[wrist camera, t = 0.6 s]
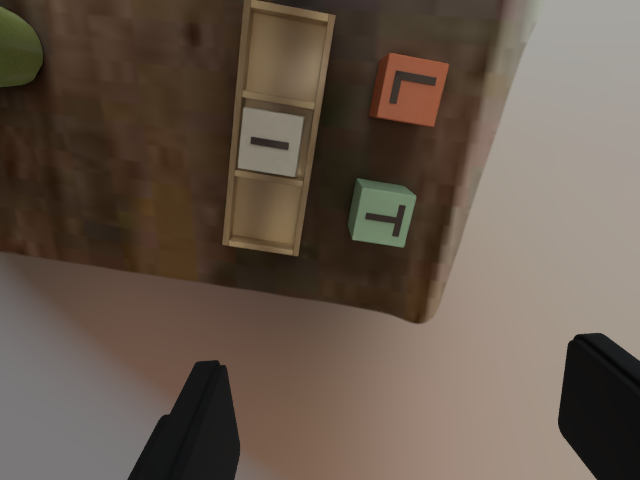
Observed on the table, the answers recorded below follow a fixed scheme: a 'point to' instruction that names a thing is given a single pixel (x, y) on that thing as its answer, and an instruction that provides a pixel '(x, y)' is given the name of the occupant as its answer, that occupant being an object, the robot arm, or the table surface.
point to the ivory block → (270, 141)
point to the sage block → (380, 212)
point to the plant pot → (18, 50)
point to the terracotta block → (408, 89)
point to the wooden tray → (280, 96)
